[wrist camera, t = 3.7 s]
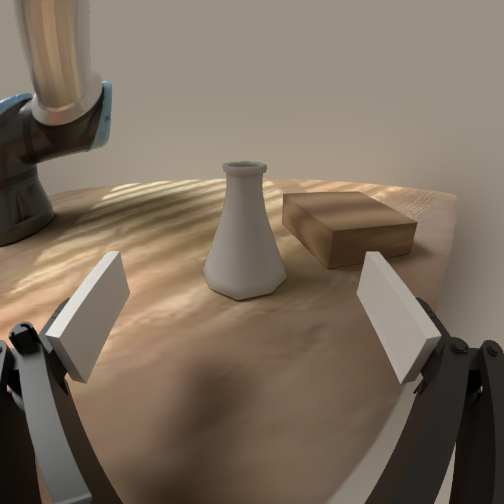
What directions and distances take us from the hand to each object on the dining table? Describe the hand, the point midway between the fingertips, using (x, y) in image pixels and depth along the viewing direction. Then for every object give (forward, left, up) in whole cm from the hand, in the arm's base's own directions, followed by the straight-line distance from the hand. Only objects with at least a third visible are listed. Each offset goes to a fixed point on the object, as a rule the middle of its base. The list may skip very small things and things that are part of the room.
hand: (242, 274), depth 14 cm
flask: (-9, +2, -6) cm, 11 cm away
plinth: (-14, +16, -6) cm, 22 cm away
